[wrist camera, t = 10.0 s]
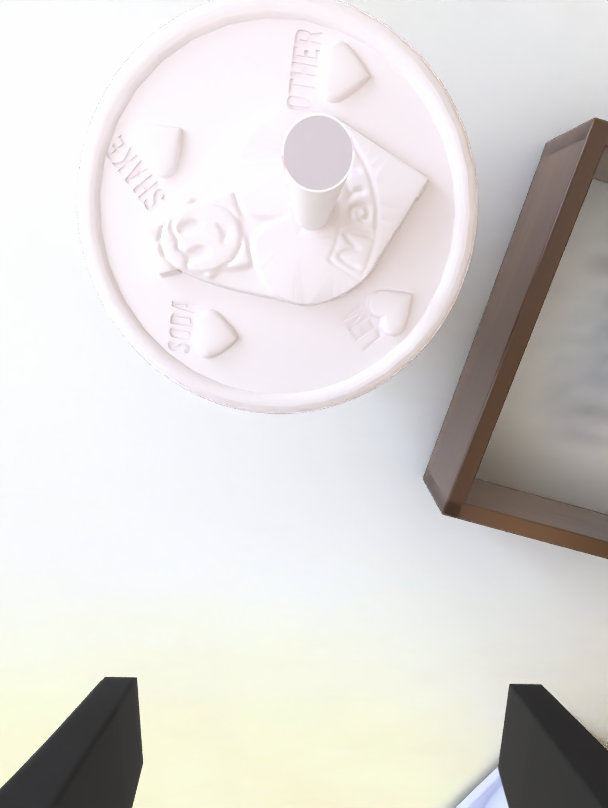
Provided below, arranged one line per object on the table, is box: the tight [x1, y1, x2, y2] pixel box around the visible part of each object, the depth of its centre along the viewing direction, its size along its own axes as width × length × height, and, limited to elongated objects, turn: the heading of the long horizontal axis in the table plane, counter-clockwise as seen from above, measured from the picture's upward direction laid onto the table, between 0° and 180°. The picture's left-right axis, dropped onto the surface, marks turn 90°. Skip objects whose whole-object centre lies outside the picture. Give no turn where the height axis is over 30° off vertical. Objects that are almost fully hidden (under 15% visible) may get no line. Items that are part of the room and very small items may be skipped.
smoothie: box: [77, 0, 478, 414], centre depth 11 cm, size 6×6×14 cm
